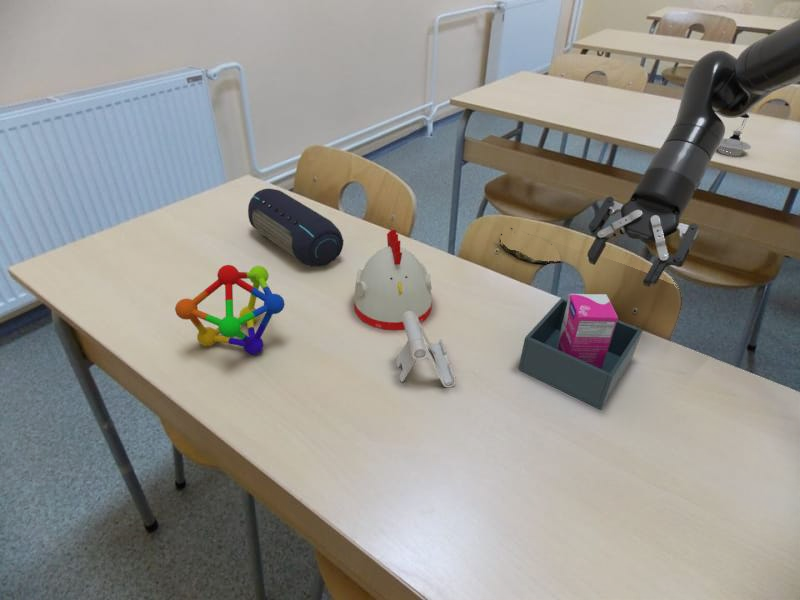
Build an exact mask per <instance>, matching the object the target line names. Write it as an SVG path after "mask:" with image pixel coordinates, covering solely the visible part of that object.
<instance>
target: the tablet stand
mask: <svg viewBox="0 0 800 600" xmlns="http://www.w3.org/2000/svg"><path fill="white" fill-rule="evenodd" d="M402 319H403V323H404V327H405V329H404V331H405V333H406V338H407V340H406V343H405V344H404V346H403V347H402V350H401V352H400V353H399V356H398V357H397V359H396V362H395V363H396V364H395V365H396V367H397V368H400V366H401V368H402V370H401V373H400V375H399V380H400V382H401V383H403V382H404V381H405V379H406V378H407V376H408V374H409V373H410V371H411V369H412V368H413V365H414V364H415V362H416V361H417V360H420V361H421V360H423V359H428V360H429V362H430V363H431V365H432V367H433V369H434V371H435V373H436V374H437V376H438V378H439V380H440V382H441V384H442V386H443V387H445V388H451V387H452V388H453V386H455V384H456V381H457V380H456V375H455V372H454V370H453V365H452V363H451V362H450V361H449V358H448V355H447V350H446V346H445V344H444V341H443V339H441V338H440V339H439V341H438V343H436V344H433V343H432V342H431V341H430V339H429V337H428V335H427V333H426V331H425V329H424V327H423V326H422V323H420V322H419V319H418V317H417V316H416V314H415V313H414V312H413V311H407V312H405V313H404V314H403V315H402ZM425 342H426V343H427V344H426V343H425ZM428 347H429V348H428ZM432 355H433V356H432ZM433 357H434V358H433Z"/></svg>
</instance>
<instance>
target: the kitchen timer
mask: <svg viewBox="0 0 800 600" xmlns="http://www.w3.org/2000/svg"><path fill="white" fill-rule="evenodd" d="M386 241H387V242H386V243H387V246H385V247H383V248H381V249H379V250H377V251H376V252H375V253H374V254H373V255H372V256H371V257H369V259H368V260H367V262H366V263H365V264H364V266H363V268H362V269H360V268H359V269H358V270H357V272H356V273H357V274H356V280H355V286H354V300H353V301H354V312H355V313H356V316H357V317H358V318H359V319H360V320H361V321H362V322H363V323H365V324H367V325H369V326H371V327H372V328H377V329H381V330H387V331H401V330H405V327H404V323H403V319H402V315H403V314H404V313H405V312H407V311H413V312H414V313H415V314H416V316H417V317H418V319H419V322H420V324H422V323H423V322H425V321H426V320H427V319H428V317H430V315H431V312H432V308H433V307H432V306H433V296H432V281H431V274H429V272H428V270H427V269H426V266H425V265H424V264H423V263H421V262H420V261H419V259H418V258H417V257H416V256H415V254H413V252H411V251H410V250H408V249H406V248H404V247H402V246H401V240H399V234H398V233H397V229H390V230H388V233H386Z"/></svg>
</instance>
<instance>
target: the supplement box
mask: <svg viewBox="0 0 800 600" xmlns="http://www.w3.org/2000/svg"><path fill="white" fill-rule="evenodd" d="M567 300H568V303H567V307H566V311H565V315H564V319H563V323H562V327H561V331H560V335H559V339H558V343H557V347H556V349H557V350H560V351H562V352H564V353H566V354H568V355H571V356H573V357H575V358H577V359H580V360H582V361H584V362H586V363H589V364H591V365H593V366H595V367H597V368H600V369H602V366H603V363H604V360H605V357H606V354H607V351H608V347H609V344H610V341H611V338H612V335H613V332H614V329H615V326H616V322H617V320H619V317H618V314H617V313H616V310H615V309H614V306H613V304H612V302H611V300H610V298H609V296H608V294H605V293H603V294H601V293H599V294H598V293H596V294H595V293H593V294H592V293H591V294H590V293H588V294H587V293H569V295H568V299H567Z"/></svg>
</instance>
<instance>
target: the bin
mask: <svg viewBox="0 0 800 600" xmlns="http://www.w3.org/2000/svg"><path fill="white" fill-rule="evenodd" d="M567 303H568V299H565V298H563V297H561V298H560V299H559V300H558V301H557V302H556V303H555V304H554V305H553V306H552V307H551V309H549V311H548V312H547V313H546V314H545V315H544V316H543V317H542V318H541V319H540V321H539V322H538V323H537V324H536V325H535V326H534V327H533V328H532V330H531V331H529V333H527V335H526V336H525V337H524V340H523V341H524V342H523V345H522V349H521V354H520V359H519V363H518V369H517V370H519V371H521V372H522V373H525V374H526V375H528V376H531V377H533V378H535V379H537V380H539V381H541V382H543V383H545V384H547V385H549V386H551V387H553V388H556V389H557V390H559V391H562V392H563V393H565V394H568V395H569V396H572V397H574V398H575V399H578V400H580V401H582V402H584V403H586V404H588V405H590V406H592V407H594V408H596V409H598V410H600V411H602V409H603V407H604V406H605V404H606V402H607V401H608V399H609V398H610V396H611V394H612V393H613V391H614V389H615V388H616V386H617V385H618V383H619V381H620V380H621V378H622V377H623V375H624V374H625V372H626V370H627V368H628V367H629V365H630V364H631V362H632V360H633V357H634V355H635V352H636V349H637V347H638V344H639V342H640V339H641V336H642V333H643V329H642V328H639V327H637V326H634V325H632V324H629V323H626V322H624V321H621V320H619V319H617V322H616V326H615V329H614V332H613V335H612V338H611V341H610V344H609V347H608V351H607V354H606V357H605V360H604V363H603V366H602V369H600V368H597V367H595V366H593V365H591V364H589V363H586V362H584V361H582V360H580V359H577V358H575V357H573V356H571V355H568V354H566V353H564V352H562V351H560V350H557V349H556V347H557V343H558V339H559V335H560V331H561V327H562V323H563V319H564V315H565V311H566V307H567Z"/></svg>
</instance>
